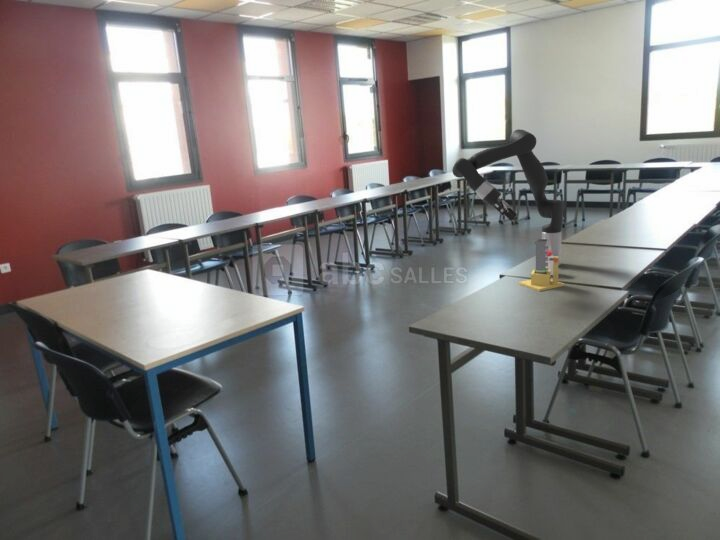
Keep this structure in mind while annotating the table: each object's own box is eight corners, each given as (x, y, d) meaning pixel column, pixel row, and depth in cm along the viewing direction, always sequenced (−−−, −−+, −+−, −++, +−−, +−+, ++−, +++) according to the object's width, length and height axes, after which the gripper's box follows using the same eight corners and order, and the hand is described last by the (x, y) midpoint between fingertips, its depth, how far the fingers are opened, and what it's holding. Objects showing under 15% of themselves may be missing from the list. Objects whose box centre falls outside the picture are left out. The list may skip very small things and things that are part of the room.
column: (534, 283, 238) (534, 241, 233) (535, 280, 242) (535, 239, 238) (547, 283, 236) (547, 241, 231) (548, 280, 240) (548, 239, 235)
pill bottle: (533, 273, 259) (533, 251, 256) (547, 271, 261) (547, 249, 258) (543, 276, 251) (543, 254, 249) (557, 274, 254) (557, 252, 251)
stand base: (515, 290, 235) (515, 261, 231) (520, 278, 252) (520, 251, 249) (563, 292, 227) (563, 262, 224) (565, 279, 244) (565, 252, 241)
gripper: (491, 188, 230) (519, 214, 228) (496, 185, 243) (522, 209, 241) (479, 201, 233) (506, 226, 232) (484, 197, 246) (510, 221, 244)
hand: (514, 217), depth 236 cm, fingers open, 8 cm apart
